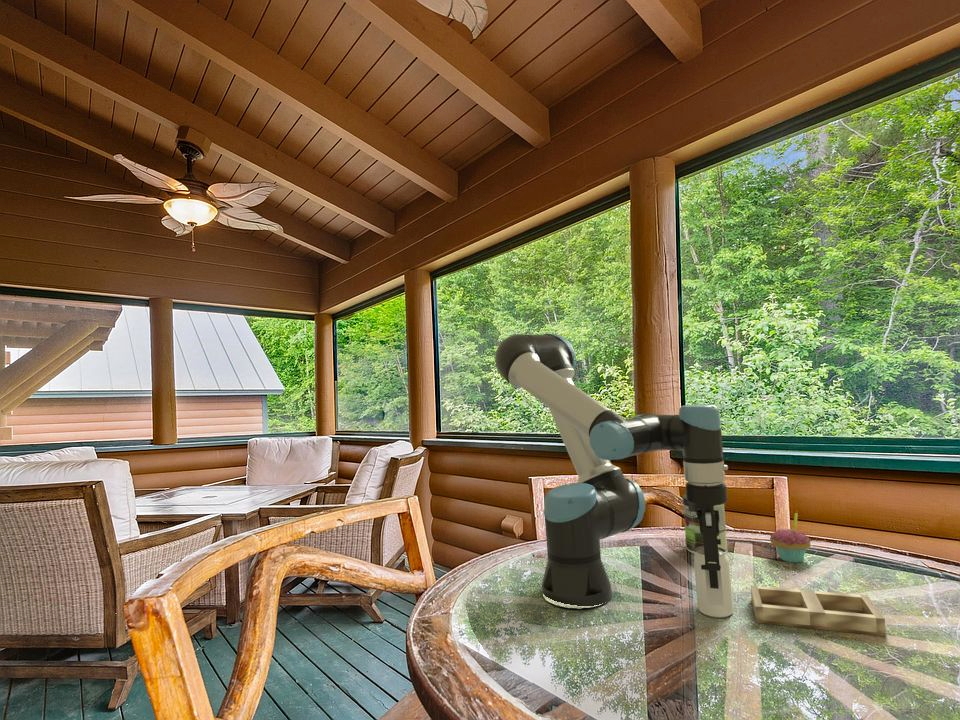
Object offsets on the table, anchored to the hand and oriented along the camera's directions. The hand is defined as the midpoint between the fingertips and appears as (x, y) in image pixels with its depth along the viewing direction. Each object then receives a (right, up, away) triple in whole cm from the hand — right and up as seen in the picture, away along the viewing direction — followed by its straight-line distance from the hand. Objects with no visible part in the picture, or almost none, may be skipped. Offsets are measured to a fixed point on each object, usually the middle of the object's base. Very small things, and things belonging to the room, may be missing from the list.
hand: (714, 590), depth 104 cm
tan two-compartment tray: (+17, -3, -5) cm, 17 cm away
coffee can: (+13, -5, +35) cm, 37 cm away
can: (0, -5, 0) cm, 5 cm away
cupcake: (+30, -3, +24) cm, 39 cm away
